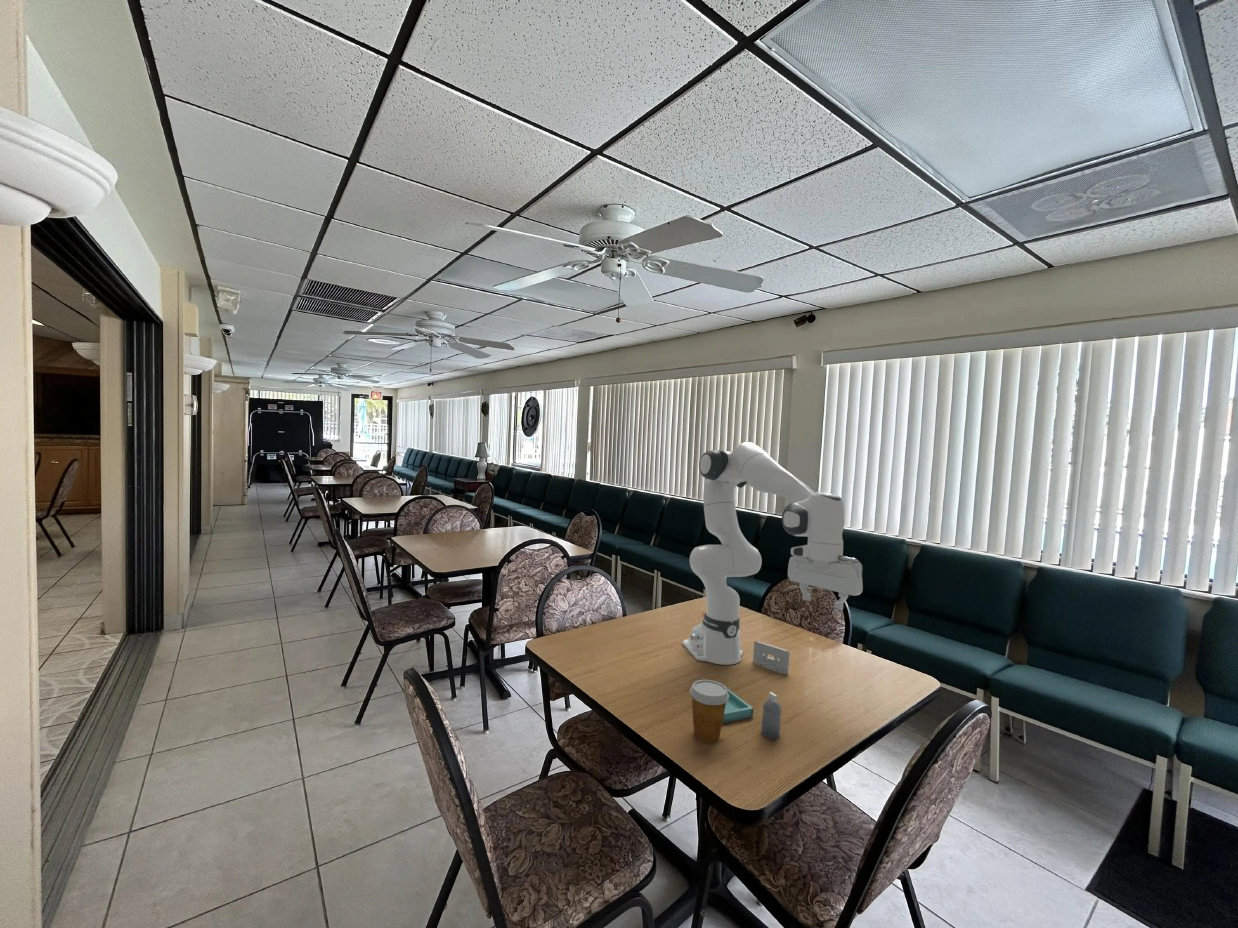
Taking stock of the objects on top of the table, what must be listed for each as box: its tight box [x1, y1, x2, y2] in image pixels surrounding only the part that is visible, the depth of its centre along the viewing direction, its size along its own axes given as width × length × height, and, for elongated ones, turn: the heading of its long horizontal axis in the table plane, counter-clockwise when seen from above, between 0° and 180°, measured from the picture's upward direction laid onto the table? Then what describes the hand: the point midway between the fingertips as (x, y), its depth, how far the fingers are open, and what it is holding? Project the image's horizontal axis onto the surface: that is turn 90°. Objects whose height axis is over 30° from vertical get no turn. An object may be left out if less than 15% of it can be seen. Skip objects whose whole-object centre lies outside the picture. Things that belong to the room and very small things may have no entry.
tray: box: [722, 688, 754, 724], centre depth 137 cm, size 12×10×2 cm
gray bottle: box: [761, 691, 782, 740], centre depth 126 cm, size 4×4×10 cm
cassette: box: [752, 640, 790, 675], centre depth 166 cm, size 12×2×8 cm, turn 50°
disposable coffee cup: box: [689, 679, 729, 743], centre depth 124 cm, size 10×10×12 cm
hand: (822, 604), depth 133 cm, fingers open, 8 cm apart
